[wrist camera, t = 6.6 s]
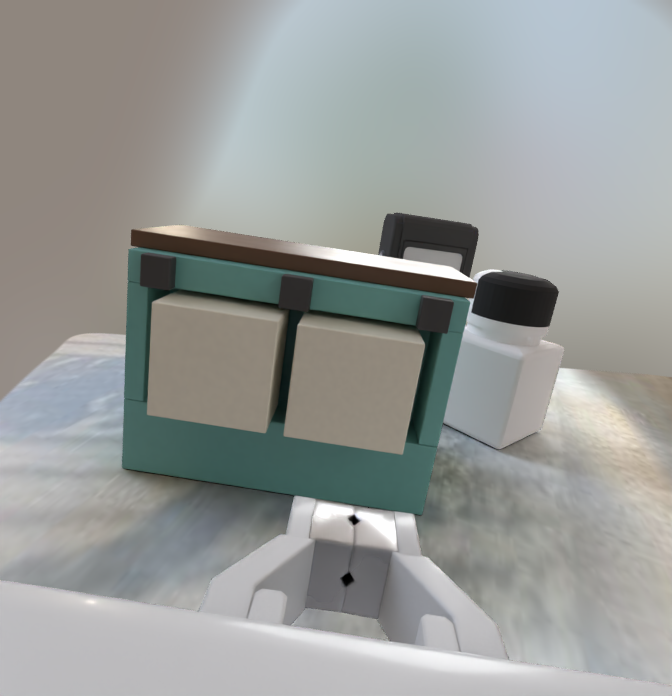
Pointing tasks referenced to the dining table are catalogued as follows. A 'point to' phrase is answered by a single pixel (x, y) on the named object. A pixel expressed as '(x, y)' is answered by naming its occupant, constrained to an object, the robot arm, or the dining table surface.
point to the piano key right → (353, 381)
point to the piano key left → (216, 360)
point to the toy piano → (299, 296)
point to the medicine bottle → (505, 359)
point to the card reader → (429, 241)
